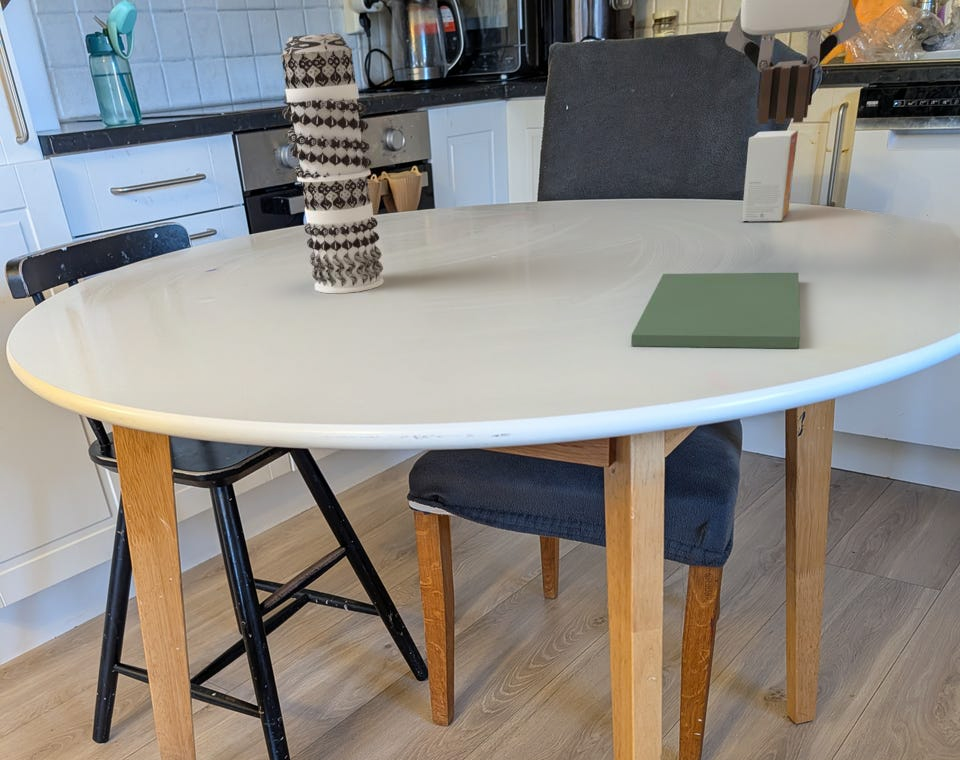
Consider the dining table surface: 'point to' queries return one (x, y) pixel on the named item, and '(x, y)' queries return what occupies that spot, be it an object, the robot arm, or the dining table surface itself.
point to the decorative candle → (331, 162)
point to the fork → (784, 92)
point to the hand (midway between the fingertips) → (783, 113)
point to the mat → (722, 311)
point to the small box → (769, 175)
